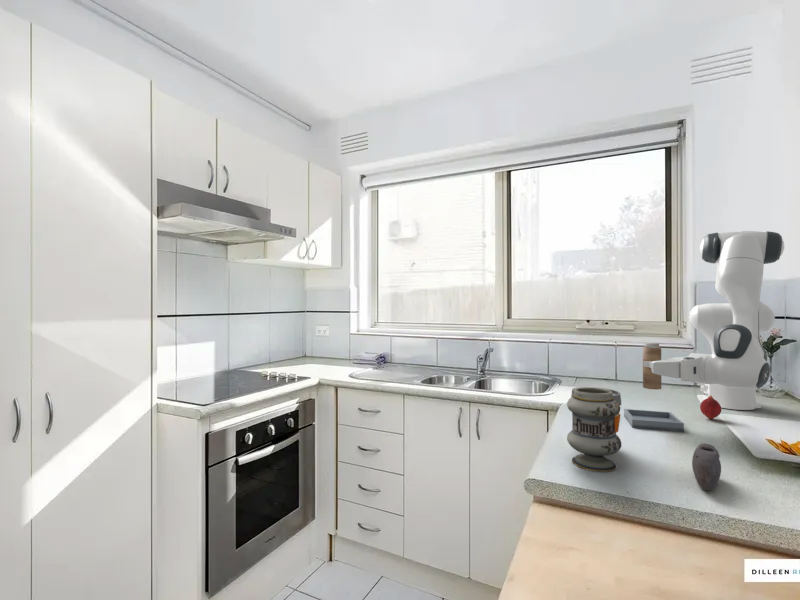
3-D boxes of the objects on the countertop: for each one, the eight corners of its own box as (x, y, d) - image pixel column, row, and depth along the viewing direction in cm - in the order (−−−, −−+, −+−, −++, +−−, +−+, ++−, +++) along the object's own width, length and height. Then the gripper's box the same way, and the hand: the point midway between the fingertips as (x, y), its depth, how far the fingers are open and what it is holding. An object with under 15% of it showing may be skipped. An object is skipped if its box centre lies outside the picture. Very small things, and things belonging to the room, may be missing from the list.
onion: (725, 422, 140) (725, 397, 140) (705, 421, 141) (705, 397, 141) (715, 417, 146) (715, 394, 146) (696, 416, 147) (696, 393, 147)
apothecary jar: (575, 451, 112) (575, 383, 112) (626, 462, 104) (626, 389, 104) (560, 465, 103) (559, 390, 103) (614, 478, 95) (614, 397, 95)
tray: (624, 416, 147) (624, 408, 147) (670, 419, 143) (670, 412, 143) (632, 427, 134) (632, 419, 134) (683, 431, 129) (683, 423, 129)
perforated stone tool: (720, 499, 85) (720, 464, 85) (688, 491, 88) (688, 458, 88) (721, 475, 97) (721, 444, 97) (693, 469, 100) (693, 440, 100)
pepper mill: (642, 385, 142) (642, 342, 142) (660, 387, 139) (660, 342, 140) (643, 388, 137) (643, 343, 137) (662, 390, 135) (662, 344, 135)
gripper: (710, 355, 134) (662, 351, 145) (684, 360, 122) (634, 355, 133) (710, 375, 134) (662, 369, 145) (684, 382, 122) (634, 375, 133)
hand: (649, 362), depth 139 cm, fingers closed on pepper mill, 5 cm apart
